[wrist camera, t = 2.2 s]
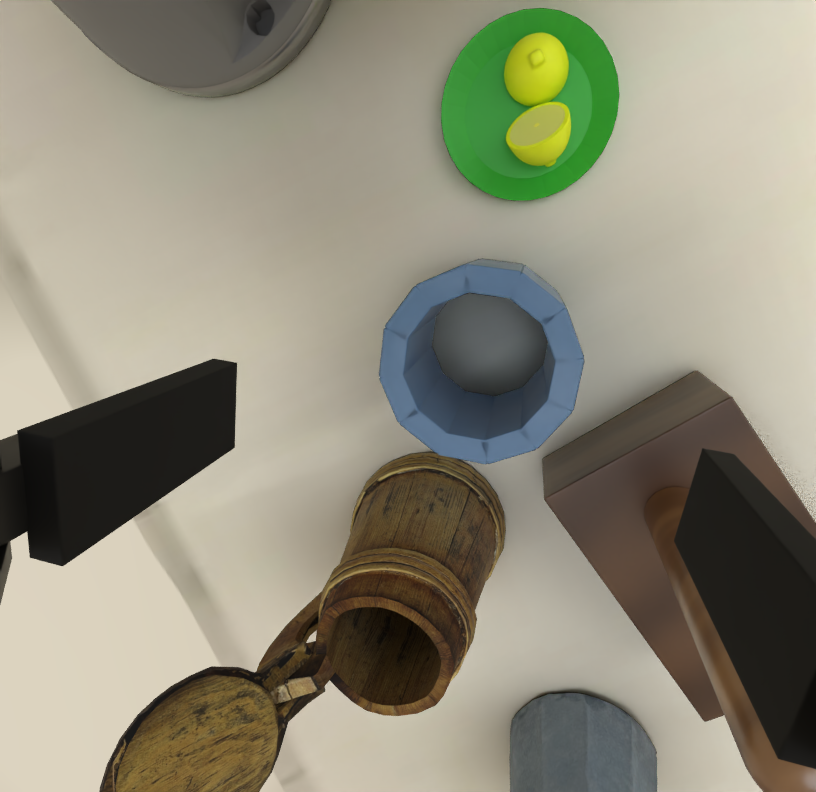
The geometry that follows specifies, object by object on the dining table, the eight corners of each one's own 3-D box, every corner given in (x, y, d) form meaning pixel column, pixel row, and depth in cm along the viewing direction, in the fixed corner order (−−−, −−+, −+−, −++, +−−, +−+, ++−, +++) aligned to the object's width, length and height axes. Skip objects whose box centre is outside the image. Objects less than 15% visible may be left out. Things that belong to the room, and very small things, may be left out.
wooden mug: (273, 492, 34) (23, 735, 17) (476, 435, 30) (407, 678, 13) (326, 610, 36) (144, 939, 19) (525, 571, 32) (518, 941, 15)
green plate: (645, 146, 25) (658, 134, 22) (486, 231, 27) (482, 230, 25) (573, -27, 24) (578, -61, 21) (414, 79, 26) (401, 60, 24)
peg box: (541, 458, 30) (555, 751, 13) (696, 369, 27) (988, 593, 10) (678, 650, 31) (859, 1151, 14) (841, 585, 28) (1322, 1119, 11)
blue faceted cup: (423, 250, 28) (391, 253, 22) (584, 272, 27) (602, 281, 20) (405, 399, 31) (371, 442, 24) (552, 425, 29) (558, 479, 23)
